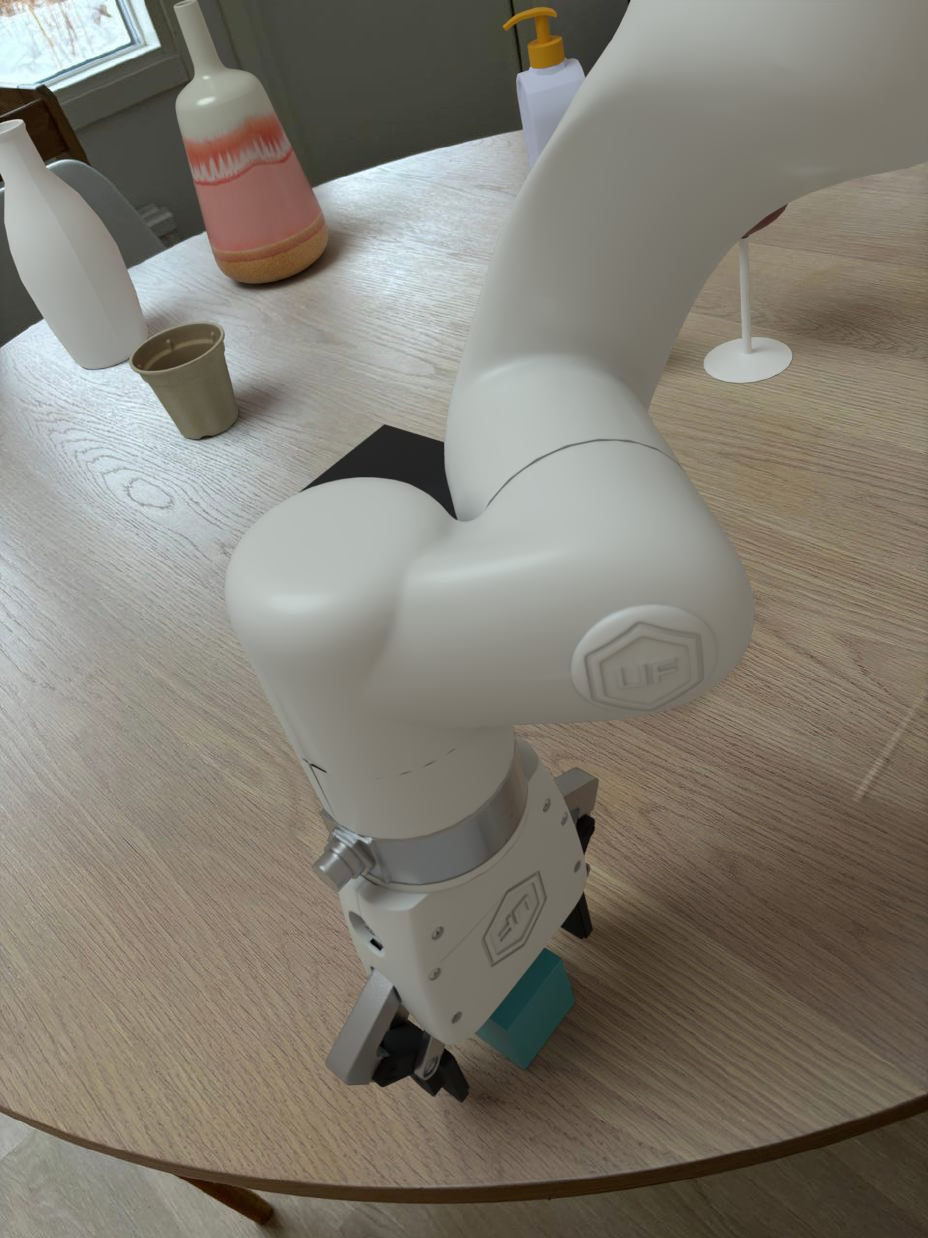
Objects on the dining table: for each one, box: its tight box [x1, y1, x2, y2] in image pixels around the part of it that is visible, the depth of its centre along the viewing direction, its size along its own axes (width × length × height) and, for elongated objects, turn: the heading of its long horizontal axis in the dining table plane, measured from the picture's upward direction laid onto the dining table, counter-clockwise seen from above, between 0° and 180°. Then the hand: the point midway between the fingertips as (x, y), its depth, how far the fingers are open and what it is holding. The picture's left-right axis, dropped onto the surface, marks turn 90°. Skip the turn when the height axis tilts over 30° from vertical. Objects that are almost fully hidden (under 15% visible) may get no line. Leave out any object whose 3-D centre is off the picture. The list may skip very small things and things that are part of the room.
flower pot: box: [128, 321, 240, 440], centre depth 99 cm, size 9×9×9 cm
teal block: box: [474, 946, 576, 1071], centre depth 49 cm, size 4×4×4 cm
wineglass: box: [703, 203, 793, 384], centre depth 82 cm, size 8×9×20 cm
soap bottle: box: [502, 6, 586, 172], centre depth 108 cm, size 9×7×23 cm
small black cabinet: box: [299, 423, 458, 520], centre depth 74 cm, size 15×13×8 cm
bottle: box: [0, 118, 149, 370], centre depth 111 cm, size 11×11×25 cm
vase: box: [173, 0, 330, 285], centre depth 117 cm, size 14×14×30 cm
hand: (506, 997), depth 49 cm, fingers open, 9 cm apart
